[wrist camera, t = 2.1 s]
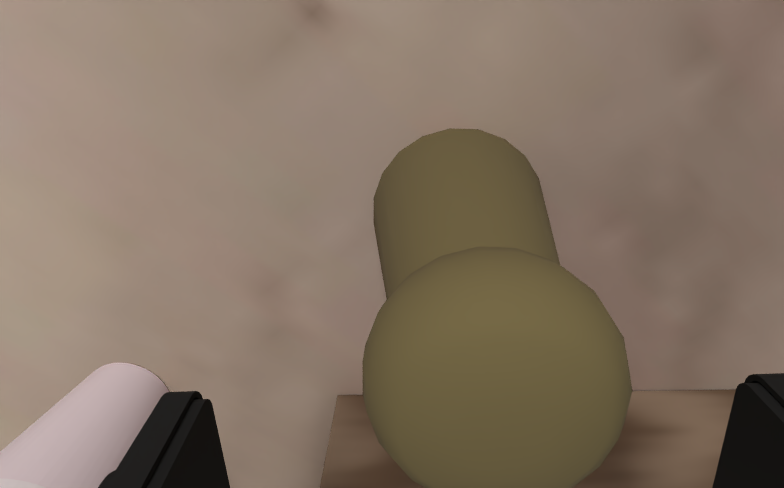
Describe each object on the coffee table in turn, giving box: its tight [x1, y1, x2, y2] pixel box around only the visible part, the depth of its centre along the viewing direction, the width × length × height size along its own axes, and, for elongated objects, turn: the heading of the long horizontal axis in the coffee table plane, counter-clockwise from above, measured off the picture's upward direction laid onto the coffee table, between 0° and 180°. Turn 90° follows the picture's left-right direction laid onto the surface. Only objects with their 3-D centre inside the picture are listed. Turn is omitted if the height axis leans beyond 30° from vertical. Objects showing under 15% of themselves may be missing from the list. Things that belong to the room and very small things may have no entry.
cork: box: [363, 129, 632, 488], centre depth 14 cm, size 6×6×11 cm
